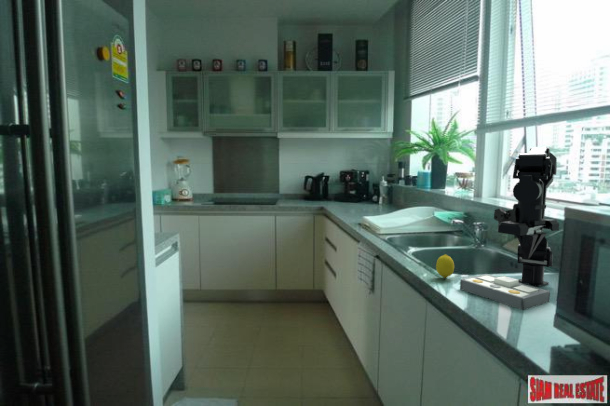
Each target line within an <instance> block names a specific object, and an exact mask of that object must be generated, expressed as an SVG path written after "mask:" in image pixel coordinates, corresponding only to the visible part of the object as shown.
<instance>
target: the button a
mask: <svg viewBox="0 0 610 406" xmlns="http://www.w3.org/2000/svg"><path fill="white" fill-rule="evenodd" d="M477 279H480V280H483V281H487V282H490V283H492V282H494V277H490V276H482V277H477Z"/></svg>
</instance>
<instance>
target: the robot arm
mask: <svg viewBox="0 0 610 406" xmlns="http://www.w3.org/2000/svg"><path fill="white" fill-rule="evenodd" d="M557 159H558V158H557V156H555V155H554V154H553V153H552V152H551V149H550V146H549V147H548V146H533V147H530V148H529V152H528V153H519V154H518V157H515V161H514V168H513V172H512V173H513V174H512V179H515V180H516V179H517V180H518V182H516V184H515V185H514V186H513V188H512V195H513V197H514V198H515V199H516V200H517V203H514V204H513V205H512V209H509V210H505V209H504V208H503V207H502V208H501V207H500V208H496V209H494V213H493V220H494V221H496V222H498V224H497V231H496V232H497V233H499V234H506V235H512V236H514V237H516V239H518V242H519V244H518V245H517V264H522V270H521V278H520V279H518V280H519V283H522V284H525V285H529V286H533V287H536V288H540V287H543V286H546V285H549V282H548V281H544V280H545V279H544V278H545V267H546V268H549V267H553V255H554V253H553V251H552V250H551V247H549V242H548V240H547V238H546V236H547V234H548V233H547V232H544V229H545V230H550V231H553V232H554V231H555V232H556V231H559V230H560V223H559V222H558V221H557V219H549V218H545V213H546V209H547V204H546V202H547V191H548V190H547V189H548V188H549V187H550V185H551V184H552V183H553V182H554V176H556V175H557V166H558V165H557V164H558V161H557Z"/></svg>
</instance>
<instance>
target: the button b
mask: <svg viewBox="0 0 610 406" xmlns="http://www.w3.org/2000/svg"><path fill="white" fill-rule="evenodd" d="M497 277H498V278H494V284H497V285H501V286H504V287H508V288H511V287H515V286H518V283H520V282H519V279H517V278H513V277H509V276H504V275H503V276H497Z"/></svg>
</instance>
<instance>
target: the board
mask: <svg viewBox="0 0 610 406" xmlns="http://www.w3.org/2000/svg"><path fill="white" fill-rule="evenodd" d="M482 276H490V277H494V278H498V277H499V276H496V275H492V274H488V273H485V274H480V275H475V276H470V277H466V278H460V280H459V285H460V286H459V289H460V290H462V291H464V292H468V293H471V294H473V295H477V296H479V297H483V298H486V299H488V298H489V299H488V300H491V299H492V300H491V301H495V302H497V303H501V304H503V305H507V306H510V307H513V308H515V309H519V310H522V311H525V310H527V309H528V310H529V309H532V308H535V307H537V306H541V305H544V304H548V303H550V297H551V291H550V290H548V289H543V288H540V287H535V286H532V285H528V284H524V283H521V282H519V283H518V286H521V285H523V286H527V287H531V288H534V289H538V291H537V292H534V293H530V294H528V293H525V292H521V291H518V290H515V289H513V287H511V288H508V287H504V286H501V285H497V284H494V282H492V283H490V282H487V281H483V280H480V279H477V277H482ZM515 287H517V286H515Z"/></svg>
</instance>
